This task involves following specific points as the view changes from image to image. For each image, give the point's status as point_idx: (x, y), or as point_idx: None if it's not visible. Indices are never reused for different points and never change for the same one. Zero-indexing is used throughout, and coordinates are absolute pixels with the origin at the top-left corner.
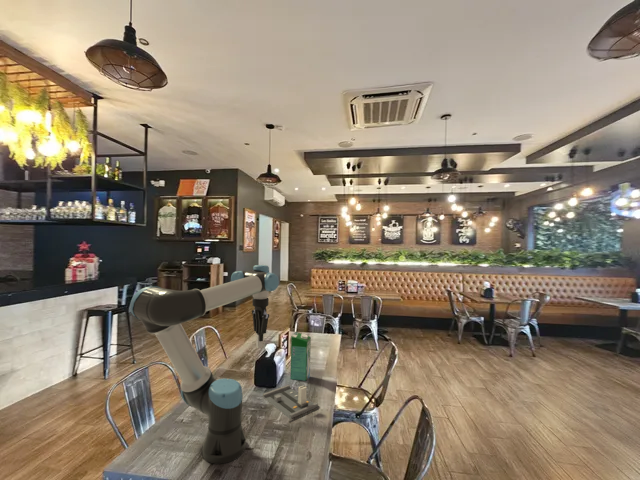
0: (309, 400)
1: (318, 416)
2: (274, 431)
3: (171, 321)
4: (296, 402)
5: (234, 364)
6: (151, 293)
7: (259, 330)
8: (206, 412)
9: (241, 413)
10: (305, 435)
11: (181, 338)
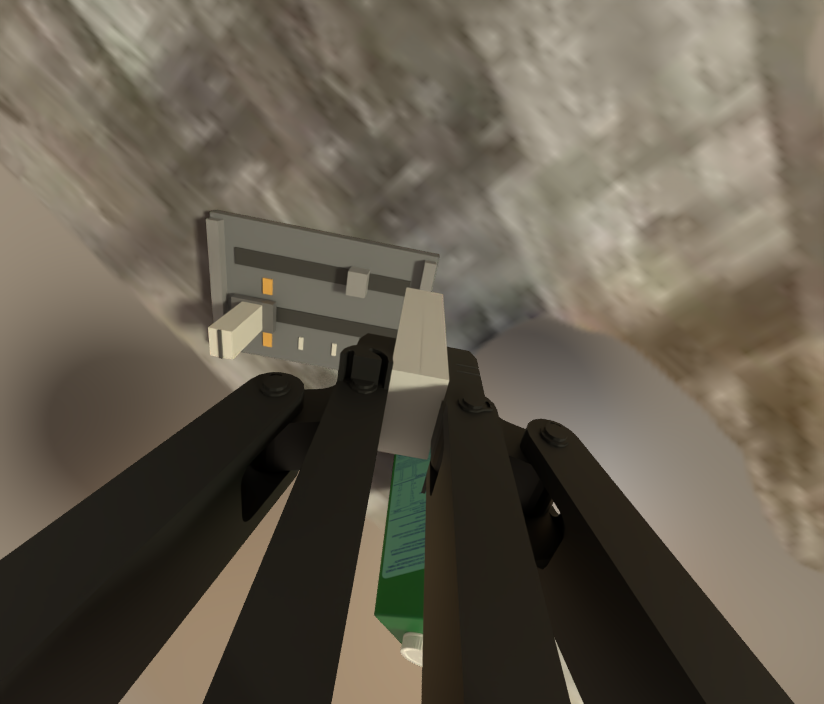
0: (273, 356)
1: (190, 309)
2: (203, 117)
3: None
4: (270, 303)
5: (801, 392)
6: None
7: (332, 420)
8: None
9: None
10: (114, 187)
11: None
